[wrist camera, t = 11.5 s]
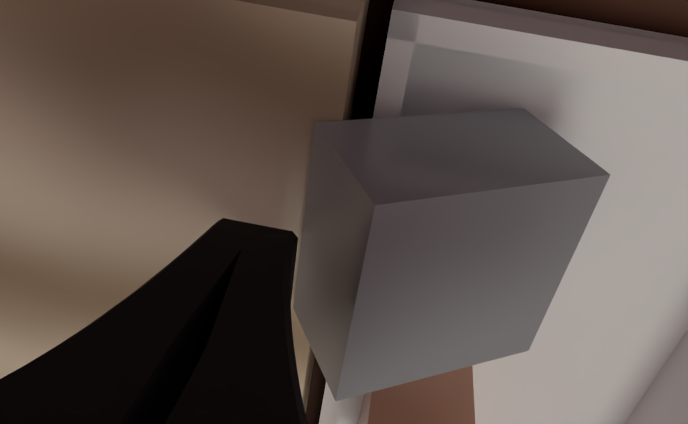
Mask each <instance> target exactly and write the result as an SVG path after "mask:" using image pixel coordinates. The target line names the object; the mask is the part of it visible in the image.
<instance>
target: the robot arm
mask: <svg viewBox="0 0 688 424" xmlns="http://www.w3.org/2000/svg"><path fill="white" fill-rule="evenodd" d="M297 244H298V237H297V236H296V235H295V234H294V232H293V231H289V230H284V229H278V228H273V227H268V226H262V225H257V224H252V223H247V222H241V221H236V220H231V219H226V218H222V219H221V220H219V221H218V222H216V223H215V224H214V225H213V226H212V227H210V228H209V229H208V230H207V231H206V232H205V233H204V234H203V235H202V236H200V237H199V238H198V239H197V240H196V241H195V242H194V243H193V244H191V245H190V246H189V247H188V248H187V249H186V250H185V251H183V252H182V253H181V254H180V255H179V256H178V257H176V258H175V259H174V260H173V261H172V262H170V263H169V264H168V265H167V266H166V267H164V268H163V269H162V270H161V271H159V272H158V273H157V274H156V275H154V276H153V277H152V278H151V279H149V280H148V281H147V282H146V283H145V284H143V285H142V286H141V287H140V288H138V289H137V290H136V291H134V292H133V293H132V294H130V295H129V296H128V297H126V298H125V299H124V300H122V301H121V302H120V303H118V304H117V305H115V306H114V307H113V308H111V309H110V310H108V311H107V312H106V313H104V314H103V315H102V316H100V317H99V318H97V319H96V320H95V321H93V322H92V323H90V324H89V325H88V326H86V327H85V328H83V329H82V330H80V331H79V332H77V333H76V334H74V335H73V336H71V337H70V338H68V339H66V340H65V341H63V342H62V343H60V344H59V345H57V346H56V347H54V348H52V349H51V350H49V351H47V352H46V353H44V354H42V355H41V356H39V357H38V358H36V359H34V360H33V361H31V362H29V363H28V364H26V365H24V366H23V367H21V368H19V369H17V370H15V371H14V372H12V373H10V374H8V375H6V376H5V377H3V378H1V379H0V424H308V423H307V419H306V414H305V409H304V404H303V400H302V395H301V389H300V384H299V378H298V372H297V365H296V358H295V350H294V342H293V333H292V319H291V298H292V289H293V280H294V271H295V262H296V253H297Z"/></svg>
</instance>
